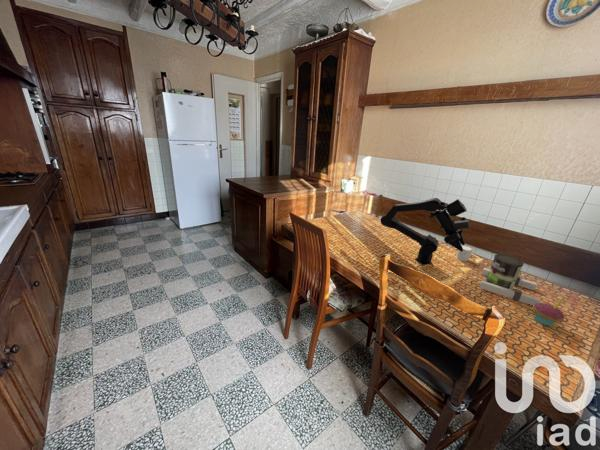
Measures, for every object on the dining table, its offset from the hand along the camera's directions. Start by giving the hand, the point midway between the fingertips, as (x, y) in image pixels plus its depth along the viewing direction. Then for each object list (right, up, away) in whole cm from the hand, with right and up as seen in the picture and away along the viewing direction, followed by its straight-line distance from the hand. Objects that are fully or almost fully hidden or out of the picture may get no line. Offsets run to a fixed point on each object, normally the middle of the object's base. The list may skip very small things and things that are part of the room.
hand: (463, 247), depth 120 cm
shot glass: (+12, -8, +18) cm, 23 cm away
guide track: (+15, -18, -7) cm, 25 cm away
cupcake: (+12, -26, -27) cm, 39 cm away
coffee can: (+13, -17, -6) cm, 22 cm away
